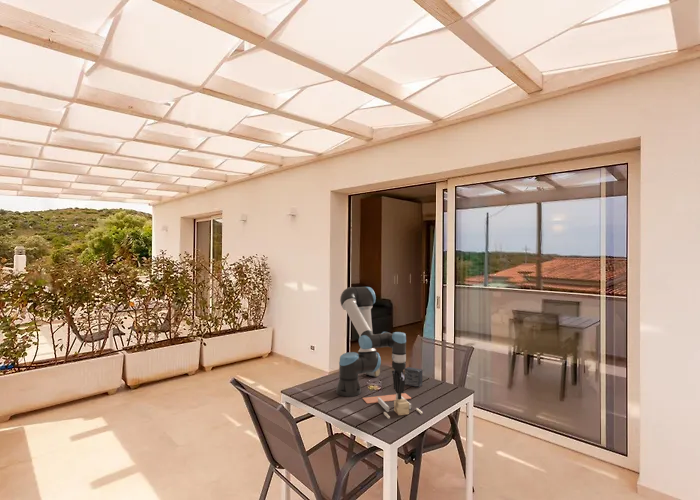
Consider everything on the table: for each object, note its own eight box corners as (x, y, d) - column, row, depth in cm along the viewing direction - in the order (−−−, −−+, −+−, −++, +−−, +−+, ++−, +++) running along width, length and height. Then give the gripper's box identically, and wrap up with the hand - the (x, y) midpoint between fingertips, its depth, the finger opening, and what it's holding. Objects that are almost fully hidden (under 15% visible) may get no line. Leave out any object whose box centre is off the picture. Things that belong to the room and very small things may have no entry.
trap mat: (362, 398, 214) (362, 397, 214) (405, 393, 223) (405, 393, 223) (367, 403, 207) (367, 403, 207) (411, 398, 215) (411, 398, 215)
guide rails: (377, 401, 210) (377, 397, 210) (400, 399, 214) (400, 395, 214) (387, 411, 196) (387, 407, 196) (411, 408, 201) (411, 404, 201)
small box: (422, 385, 239) (423, 369, 239) (419, 388, 233) (419, 371, 233) (408, 382, 244) (408, 366, 244) (404, 384, 239) (404, 368, 239)
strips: (383, 413, 194) (383, 412, 194) (417, 409, 200) (417, 407, 200) (388, 418, 188) (388, 416, 188) (422, 414, 194) (422, 412, 194)
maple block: (394, 410, 198) (394, 399, 198) (404, 409, 200) (404, 398, 200) (398, 415, 192) (398, 404, 192) (409, 414, 194) (409, 402, 194)
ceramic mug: (375, 378, 251) (375, 367, 251) (365, 376, 255) (365, 365, 256) (382, 374, 259) (383, 363, 260) (373, 372, 264) (373, 361, 264)
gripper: (387, 358, 205) (387, 400, 205) (397, 365, 193) (397, 409, 192) (400, 357, 207) (399, 399, 207) (410, 363, 195) (410, 408, 195)
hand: (398, 404), depth 200 cm, fingers closed
